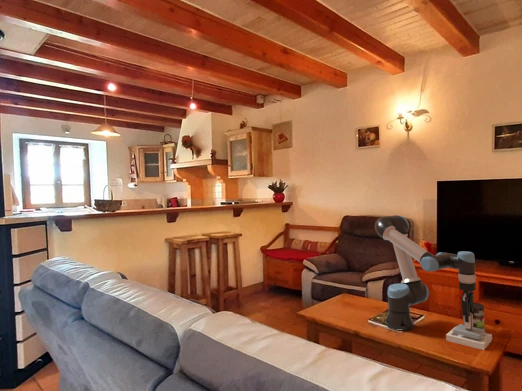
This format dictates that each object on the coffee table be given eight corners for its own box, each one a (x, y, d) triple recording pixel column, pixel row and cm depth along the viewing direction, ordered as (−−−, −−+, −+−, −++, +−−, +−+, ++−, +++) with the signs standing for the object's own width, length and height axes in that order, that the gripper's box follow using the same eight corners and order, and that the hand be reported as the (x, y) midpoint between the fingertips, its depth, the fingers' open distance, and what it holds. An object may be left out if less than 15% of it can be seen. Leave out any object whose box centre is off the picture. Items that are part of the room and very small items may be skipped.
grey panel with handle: (453, 332, 181) (452, 312, 181) (459, 327, 188) (458, 307, 188) (479, 339, 172) (478, 317, 172) (485, 333, 179) (484, 312, 179)
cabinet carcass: (446, 340, 181) (446, 330, 181) (455, 331, 192) (455, 322, 192) (484, 350, 169) (483, 340, 169) (492, 340, 179) (491, 330, 179)
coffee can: (489, 332, 189) (488, 306, 189) (474, 335, 186) (473, 308, 186) (473, 325, 199) (472, 300, 199) (458, 328, 196) (457, 303, 196)
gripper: (470, 286, 172) (472, 333, 172) (479, 279, 183) (481, 324, 183) (454, 283, 177) (455, 329, 177) (464, 277, 188) (465, 320, 188)
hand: (468, 326), depth 180 cm, fingers closed on grey panel with handle, 3 cm apart
